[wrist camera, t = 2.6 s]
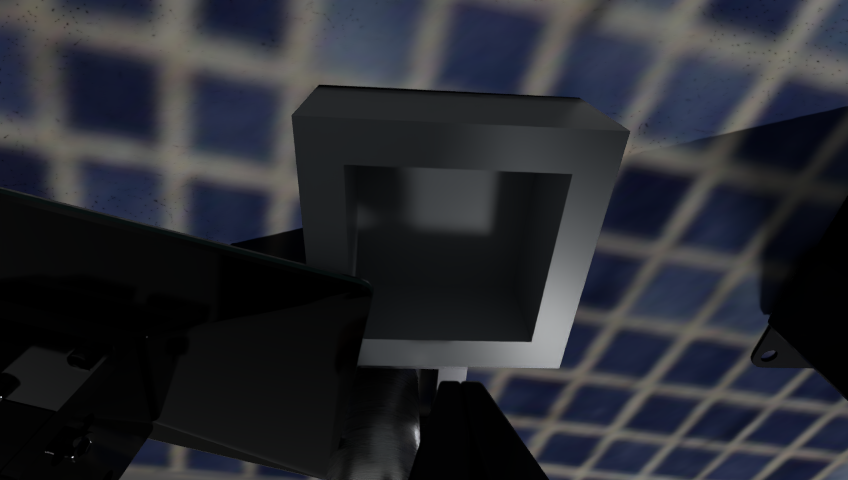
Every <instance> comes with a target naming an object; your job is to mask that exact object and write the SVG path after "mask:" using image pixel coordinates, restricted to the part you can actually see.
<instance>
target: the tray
mask: <svg viewBox="0 0 848 480" xmlns="http://www.w3.org/2000/svg"><path fill="white" fill-rule="evenodd" d="M292 124H293V134H294V144H295V154H296V164H297V174H298V185H299V195H300V205H301V215H302V225H303V235H304V245H305V255H306V264H307V265H311V266H315V267H319V268H322V269H326V270H330V271H334V272H338V273H342V274H346V275H350V276H354V277H358V278H362V279H365V280H367V281H369V282H370V283H371V284H372V286H373V288H374V295H373V299H372V303H371V308H370V312H369V317H368V321H367V326H366V330H365V335H364V339H363V343H362V348H361V352H360V357H359V361H358V365H378V366H446V367H513V368H559V367H560V363H561V360H562V357H563V353H564V350H565V347H566V343H567V340H568V337H569V333H570V330H571V327H572V323H573V320H574V317H575V313H576V310H577V307H578V303H579V300H580V297H581V293H582V290H583V287H584V283H585V280H586V277H587V273H588V270H589V267H590V263H591V260H592V257H593V253H594V250H595V247H596V244H597V240H598V237H599V234H600V230H601V227H602V224H603V220H604V217H605V214H606V210H607V207H608V204H609V200H610V197H611V194H612V190H613V187H614V184H615V180H616V177H617V174H618V170H619V167H620V164H621V160H622V157H623V154H624V150H625V147H626V144H627V140H628V137H629V134H630V131H629V130H628V129H626V128H625V127H623V126H622V125H620V124H619V123H617V122H615V121H614V120H612V119H611V118H609V117H608V116H606V115H605V114H603V113H602V112H600V111H599V110H597V109H596V108H594V107H593V106H591V105H590V104H588V103H587V102H585V101H584V100H582V99H580V98H575V97H555V96H535V95H515V94H496V93H476V92H456V91H436V90H417V89H397V88H377V87H357V86H338V85H318V86H317V88H316V89H315V90H314V91H313V92H312V93H311V94H310V95H309V97H308V98H307V99H306V100H305V101H304V102H303V103H302V104H301V105H300V107H299V108H298V109H297V110H296V111H295V112H294V113H293V114H292Z"/></svg>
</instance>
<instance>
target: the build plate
mask: <svg viewBox="0 0 848 480" xmlns="http://www.w3.org/2000/svg"><path fill="white" fill-rule="evenodd" d="M373 295H374V288H373V286H372V284H371V283H370V282H369V281H367V280H365V279H362V278H358V277H354V276H350V275H346V274H342V273H338V272H334V271H330V270H326V269H322V268H319V267H315V266H311V265H307V264H303V263H299V262H295V261H291V260H287V259H283V258H279V257H275V256H271V255H267V254H263V253H259V252H255V251H251V250H247V249H243V248H240V247H236V246H232V245H228V244H224V243H220V242H216V241H212V240H208V239H204V238H200V237H196V236H192V235H188V234H184V233H180V232H176V231H172V230H168V229H164V228H161V227H157V226H153V225H149V224H145V223H141V222H137V221H133V220H129V219H125V218H121V217H117V216H113V215H109V214H105V213H101V212H97V211H93V210H89V209H85V208H82V207H78V206H74V205H70V204H66V203H62V202H58V201H54V200H50V199H46V198H42V197H38V196H34V195H30V194H26V193H22V192H18V191H14V190H10V189H7V188H3V187H0V480H119V479H120V477H121V476H122V474H123V473H124V472H125V470H126V469H127V467H128V466H129V464H130V463H131V461H132V460H133V459H134V457H135V456H136V454H137V453H138V451H139V450H140V448H141V447H142V446H143V444H144V443H145V441H146V440H147V438H148V439H152V440H156V441H161V442H165V443H169V444H173V445H178V446H182V447H186V448H191V449H195V450H199V451H203V452H208V453H212V454H216V455H221V456H225V457H229V458H233V459H238V460H242V461H246V462H250V463H255V464H259V465H263V466H268V467H272V468H276V469H280V470H285V471H289V472H293V473H298V474H302V475H306V476H310V477H315V478H319V479H326V477H327V471H328V465H329V460H330V458H331V456H332V455H333V453H335V452H336V451H337V450H338V448H339V444H340V441H341V437H342V432H343V428H344V423H345V419H346V415H347V410H348V406H349V401H350V397H351V392H352V388H353V383H354V379H355V375H356V370H357V366H358V361H359V357H360V352H361V348H362V343H363V339H364V335H365V330H366V326H367V321H368V317H369V312H370V308H371V303H372V299H373Z"/></svg>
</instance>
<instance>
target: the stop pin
mask: <svg viewBox="0 0 848 480" xmlns="http://www.w3.org/2000/svg"><path fill="white" fill-rule="evenodd" d="M419 444H420V424H419V388H418V376H417V373H416V371H415V370H414V369H400V368H357V370H356V375H355V379H354V383H353V388H352V392H351V397H350V401H349V406H348V410H347V415H346V419H345V423H344V428H343V432H342V437H341V441H340V444H339V448H338V450H337V451H336V452H335V453H333V455H332V456H331V458H330V460H329V465H328V471H327V477H326V480H408V477H409V474H410V471H411V468H412V465H413V462H414V459H415V456H416V453H417V450H418V447H419Z"/></svg>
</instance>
